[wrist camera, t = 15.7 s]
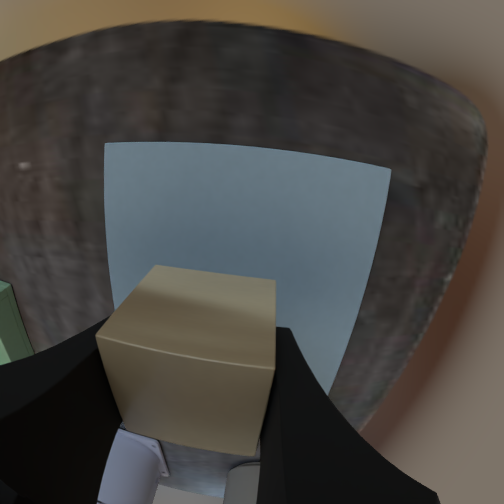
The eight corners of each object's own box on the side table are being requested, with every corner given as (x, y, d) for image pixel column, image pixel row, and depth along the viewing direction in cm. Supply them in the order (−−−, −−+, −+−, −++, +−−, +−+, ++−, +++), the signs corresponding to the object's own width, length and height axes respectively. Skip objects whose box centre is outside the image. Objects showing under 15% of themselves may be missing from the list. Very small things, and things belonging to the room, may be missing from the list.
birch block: (261, 369, 11) (255, 456, 7) (162, 354, 11) (126, 430, 7) (276, 279, 9) (275, 368, 5) (155, 264, 9) (94, 334, 5)
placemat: (308, 431, 20) (309, 436, 19) (140, 406, 20) (138, 411, 20) (388, 168, 12) (392, 169, 12) (109, 142, 13) (104, 143, 12)
